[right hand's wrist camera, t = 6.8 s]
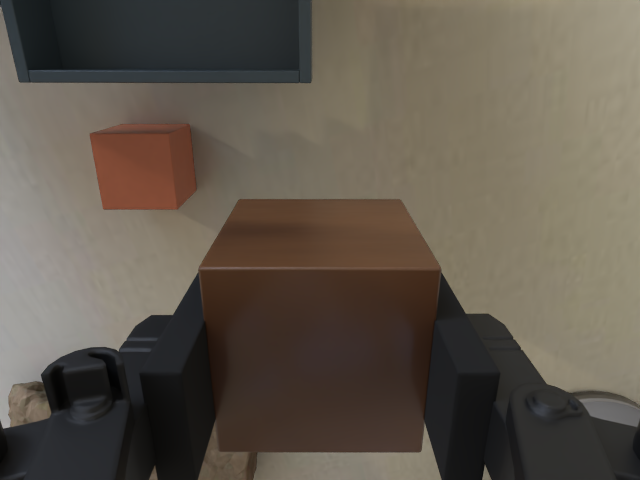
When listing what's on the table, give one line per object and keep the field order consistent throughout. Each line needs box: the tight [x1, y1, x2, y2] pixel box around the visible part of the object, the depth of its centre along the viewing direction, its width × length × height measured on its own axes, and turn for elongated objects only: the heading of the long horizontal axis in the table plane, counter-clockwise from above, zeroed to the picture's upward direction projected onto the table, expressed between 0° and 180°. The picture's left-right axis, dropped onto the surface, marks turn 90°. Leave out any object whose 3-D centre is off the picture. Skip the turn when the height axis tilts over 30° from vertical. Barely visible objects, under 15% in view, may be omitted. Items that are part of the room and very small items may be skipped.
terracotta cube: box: [90, 124, 196, 209], centre depth 32 cm, size 5×5×5 cm
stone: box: [8, 381, 257, 480], centre depth 41 cm, size 21×15×6 cm
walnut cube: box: [198, 199, 441, 452], centre depth 12 cm, size 5×5×5 cm
